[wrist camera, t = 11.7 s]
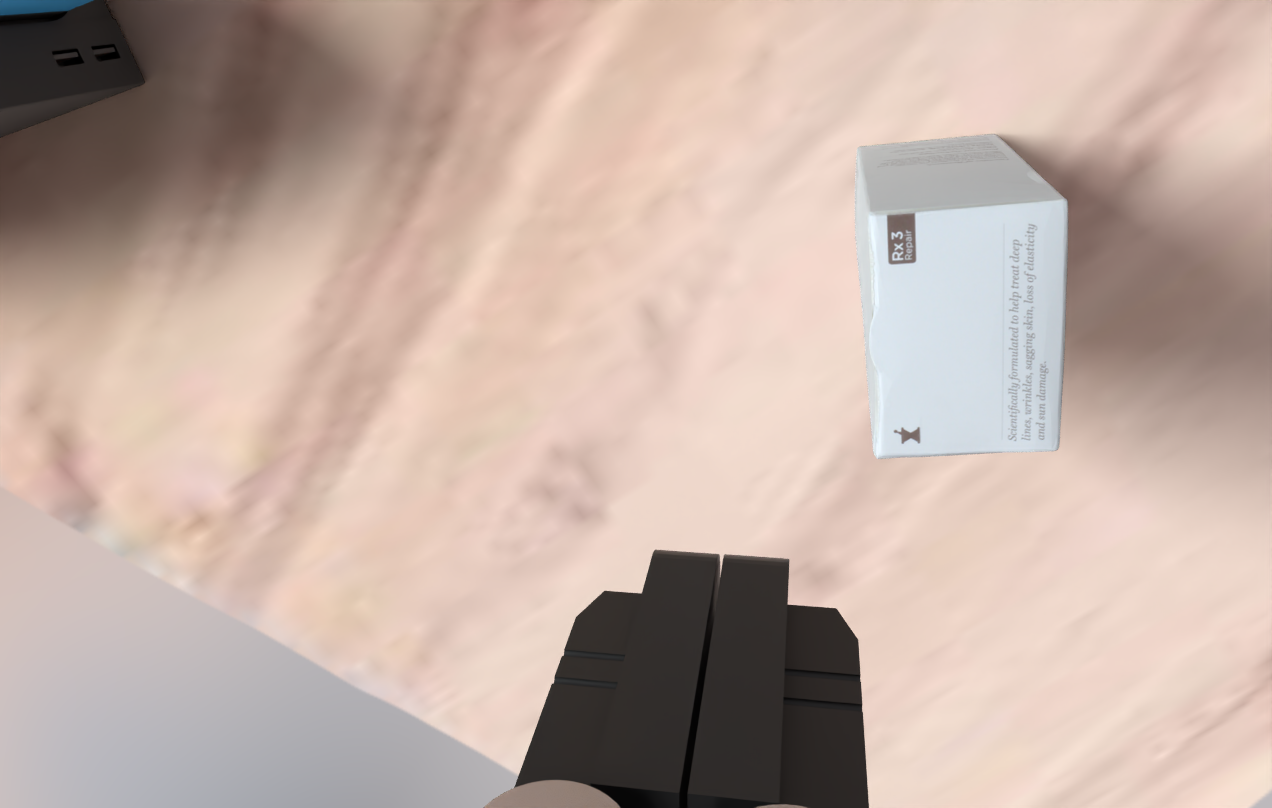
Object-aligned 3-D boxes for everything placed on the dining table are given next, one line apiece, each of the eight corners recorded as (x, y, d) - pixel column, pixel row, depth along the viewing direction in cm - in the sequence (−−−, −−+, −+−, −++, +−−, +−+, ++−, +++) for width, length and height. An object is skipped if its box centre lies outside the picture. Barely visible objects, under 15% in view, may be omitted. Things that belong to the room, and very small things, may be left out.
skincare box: (993, 314, 45) (1072, 466, 31) (854, 322, 46) (873, 474, 32) (996, 120, 41) (1086, 198, 28) (846, 135, 42) (863, 216, 29)
